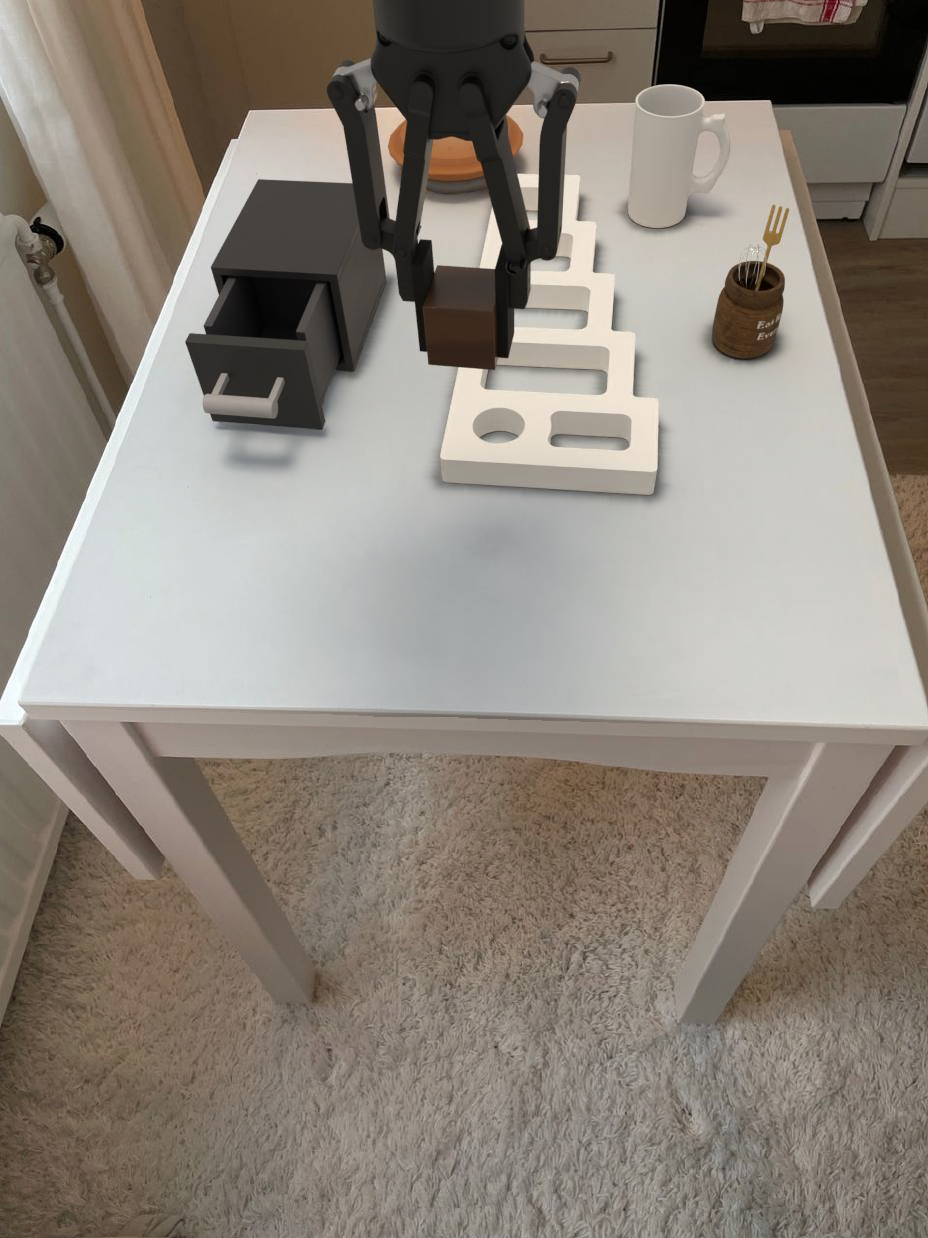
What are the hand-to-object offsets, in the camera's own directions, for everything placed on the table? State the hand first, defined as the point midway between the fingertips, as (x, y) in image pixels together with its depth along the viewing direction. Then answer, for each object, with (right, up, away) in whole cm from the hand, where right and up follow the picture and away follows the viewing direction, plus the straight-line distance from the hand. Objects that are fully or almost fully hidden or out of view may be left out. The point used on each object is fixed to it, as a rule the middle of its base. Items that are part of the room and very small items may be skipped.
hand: (467, 341), depth 64 cm
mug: (+22, +26, +41) cm, 53 cm away
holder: (+10, +10, +30) cm, 34 cm away
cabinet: (-15, +12, +33) cm, 38 cm away
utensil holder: (+26, +8, +28) cm, 39 cm away
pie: (-1, +34, +48) cm, 59 cm away
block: (0, 0, 0) cm, 0 cm away
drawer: (-17, +3, +25) cm, 30 cm away
